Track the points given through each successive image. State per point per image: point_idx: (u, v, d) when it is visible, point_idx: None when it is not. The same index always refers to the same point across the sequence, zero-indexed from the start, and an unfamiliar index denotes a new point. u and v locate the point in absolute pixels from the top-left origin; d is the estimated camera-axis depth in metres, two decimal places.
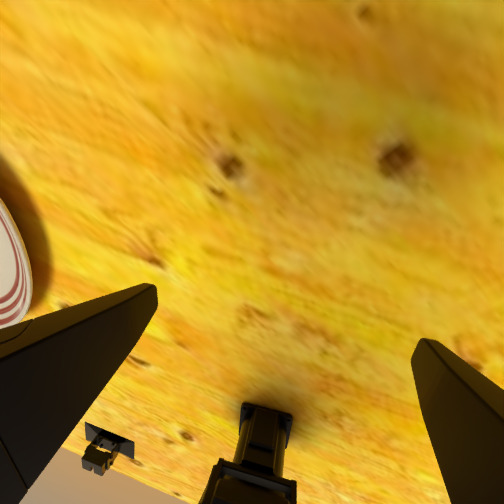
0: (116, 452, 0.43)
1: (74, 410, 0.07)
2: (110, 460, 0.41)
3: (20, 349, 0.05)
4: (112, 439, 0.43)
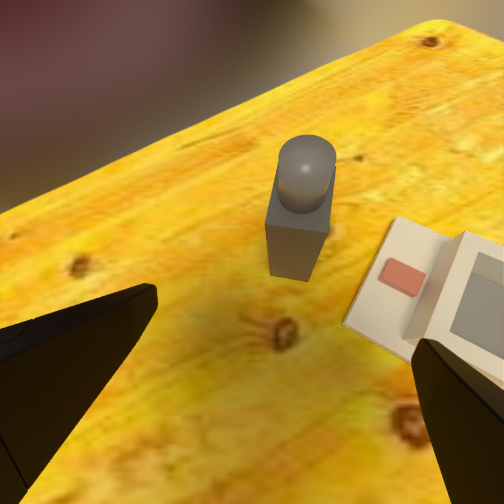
0: None
1: (74, 410, 0.07)
2: None
3: (20, 349, 0.05)
4: None
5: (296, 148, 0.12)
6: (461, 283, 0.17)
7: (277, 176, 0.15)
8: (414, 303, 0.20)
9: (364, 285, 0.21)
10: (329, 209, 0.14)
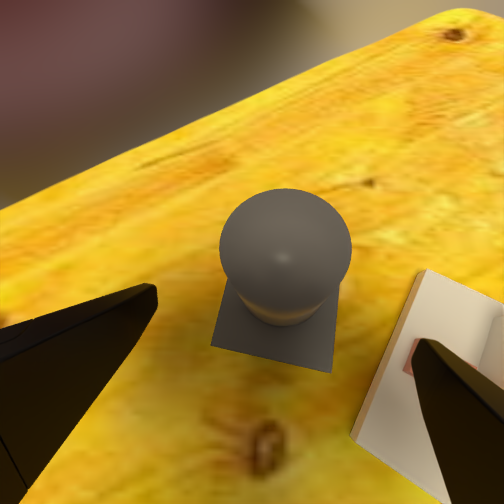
0: None
1: (74, 410, 0.07)
2: None
3: (20, 349, 0.05)
4: None
5: (260, 221, 0.05)
6: None
7: None
8: None
9: (383, 378, 0.14)
10: (333, 318, 0.07)
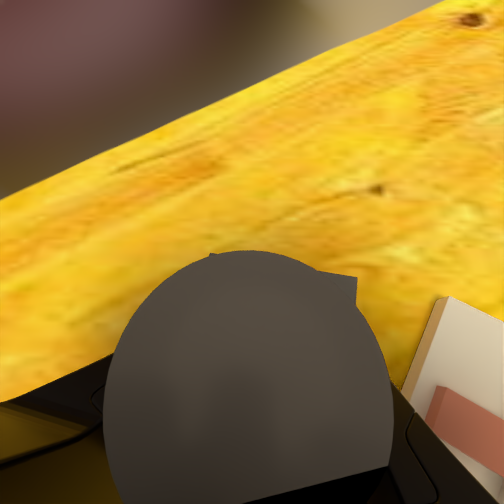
0: None
1: None
2: None
3: None
4: None
5: (197, 325, 0.03)
6: None
7: None
8: (495, 483, 0.11)
9: None
10: None
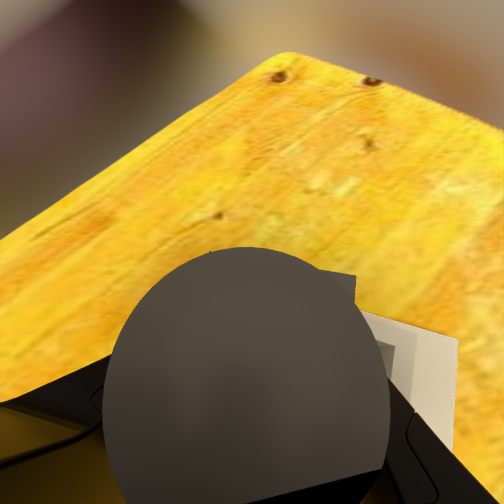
0: None
1: None
2: None
3: None
4: None
5: (196, 321, 0.03)
6: None
7: None
8: None
9: None
10: None
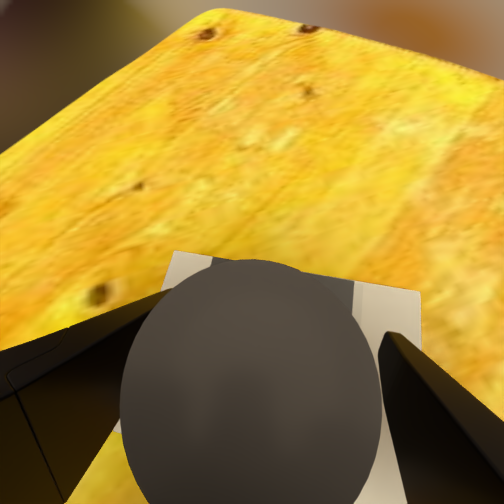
0: None
1: (108, 420, 0.07)
2: None
3: (62, 360, 0.05)
4: None
5: (204, 328, 0.03)
6: None
7: None
8: None
9: None
10: None
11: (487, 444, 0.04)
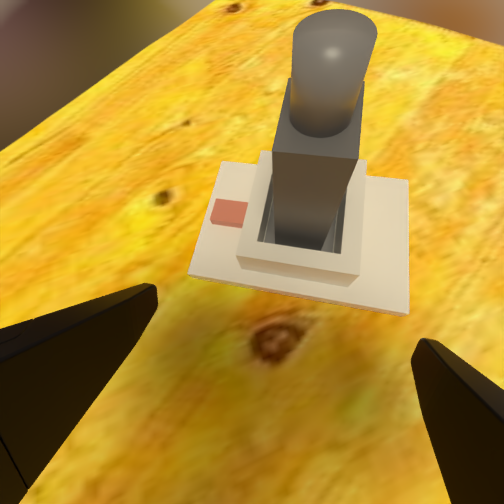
0: None
1: (74, 410, 0.07)
2: None
3: (20, 349, 0.05)
4: None
5: (318, 25, 0.08)
6: (262, 196, 0.18)
7: (287, 95, 0.12)
8: None
9: (200, 232, 0.21)
10: (358, 131, 0.10)
11: None
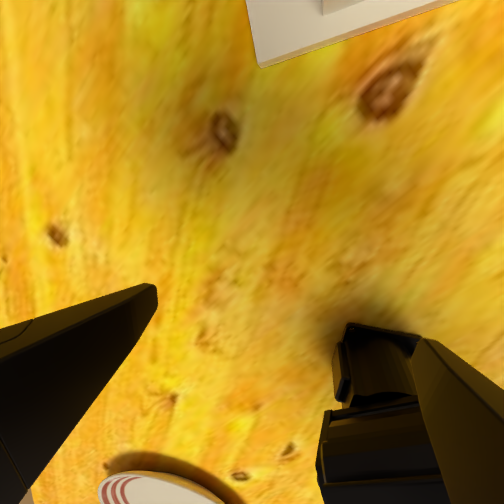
0: None
1: (74, 410, 0.07)
2: None
3: (20, 349, 0.05)
4: None
5: None
6: None
7: None
8: None
9: None
10: None
11: None
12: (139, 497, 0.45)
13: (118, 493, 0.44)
